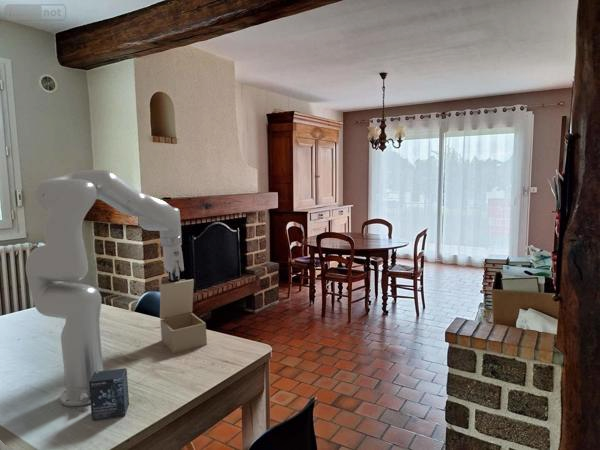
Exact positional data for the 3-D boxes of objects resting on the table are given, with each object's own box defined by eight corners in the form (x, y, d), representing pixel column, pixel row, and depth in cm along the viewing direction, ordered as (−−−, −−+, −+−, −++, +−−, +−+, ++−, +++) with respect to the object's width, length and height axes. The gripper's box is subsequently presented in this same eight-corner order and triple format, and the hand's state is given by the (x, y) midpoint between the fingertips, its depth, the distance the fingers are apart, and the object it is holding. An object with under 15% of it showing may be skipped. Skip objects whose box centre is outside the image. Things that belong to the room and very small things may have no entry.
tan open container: (206, 344, 144) (205, 323, 143) (173, 353, 137) (172, 331, 136) (193, 332, 156) (191, 312, 155) (161, 340, 149) (160, 319, 148)
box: (91, 421, 100) (88, 381, 99) (97, 409, 105) (94, 370, 104) (125, 417, 102) (122, 377, 100) (129, 404, 107) (126, 367, 106)
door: (193, 280, 149) (188, 273, 154) (161, 285, 143) (156, 278, 147) (192, 312, 154) (187, 304, 158) (160, 319, 147) (156, 311, 152)
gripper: (188, 242, 144) (191, 292, 147) (174, 237, 157) (177, 283, 159) (167, 245, 140) (170, 296, 142) (155, 239, 153) (158, 286, 155)
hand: (174, 288), depth 151 cm, fingers closed
